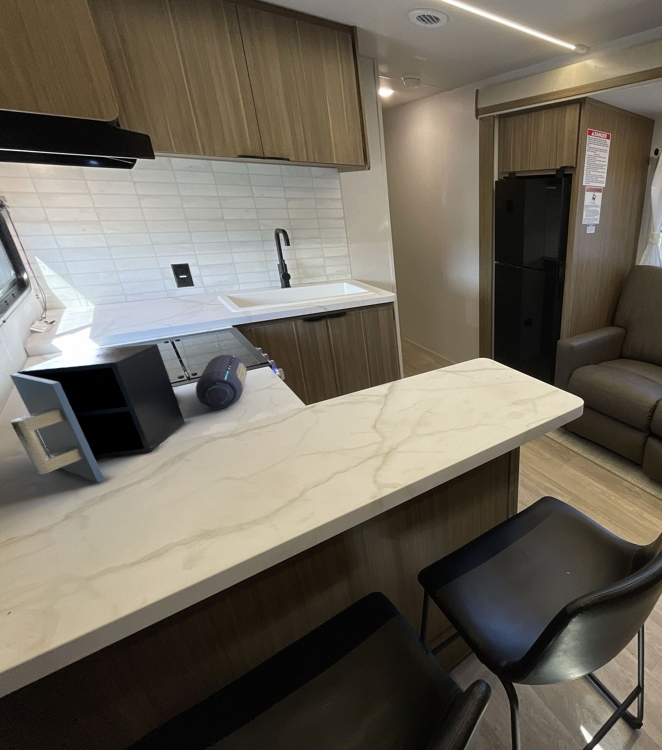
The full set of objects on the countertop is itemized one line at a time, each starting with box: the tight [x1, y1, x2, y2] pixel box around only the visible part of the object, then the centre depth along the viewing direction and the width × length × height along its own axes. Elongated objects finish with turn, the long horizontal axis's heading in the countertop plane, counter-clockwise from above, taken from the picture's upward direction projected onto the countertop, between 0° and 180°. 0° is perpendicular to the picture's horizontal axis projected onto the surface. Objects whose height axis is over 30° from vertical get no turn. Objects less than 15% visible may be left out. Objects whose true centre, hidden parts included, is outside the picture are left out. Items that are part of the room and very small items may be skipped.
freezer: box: [16, 343, 186, 460], centre depth 86 cm, size 14×16×20 cm
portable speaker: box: [195, 354, 248, 410], centre depth 111 cm, size 25×10×10 cm, turn 27°
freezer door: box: [10, 372, 105, 483], centre depth 72 cm, size 7×16×20 cm, turn 67°
